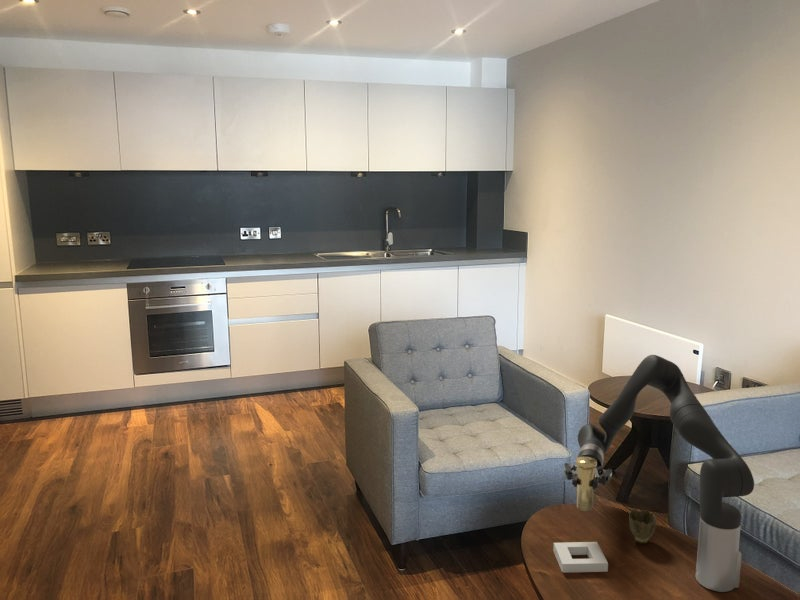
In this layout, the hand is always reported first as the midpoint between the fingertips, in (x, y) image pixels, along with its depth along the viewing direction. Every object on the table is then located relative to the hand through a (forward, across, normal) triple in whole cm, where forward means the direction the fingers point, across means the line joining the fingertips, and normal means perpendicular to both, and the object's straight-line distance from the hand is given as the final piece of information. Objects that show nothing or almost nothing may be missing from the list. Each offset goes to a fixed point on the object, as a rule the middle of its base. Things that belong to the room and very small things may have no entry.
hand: (584, 485), depth 184 cm
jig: (+9, 0, +18) cm, 20 cm away
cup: (-7, +16, +18) cm, 25 cm away
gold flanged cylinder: (-3, 0, +8) cm, 8 cm away
